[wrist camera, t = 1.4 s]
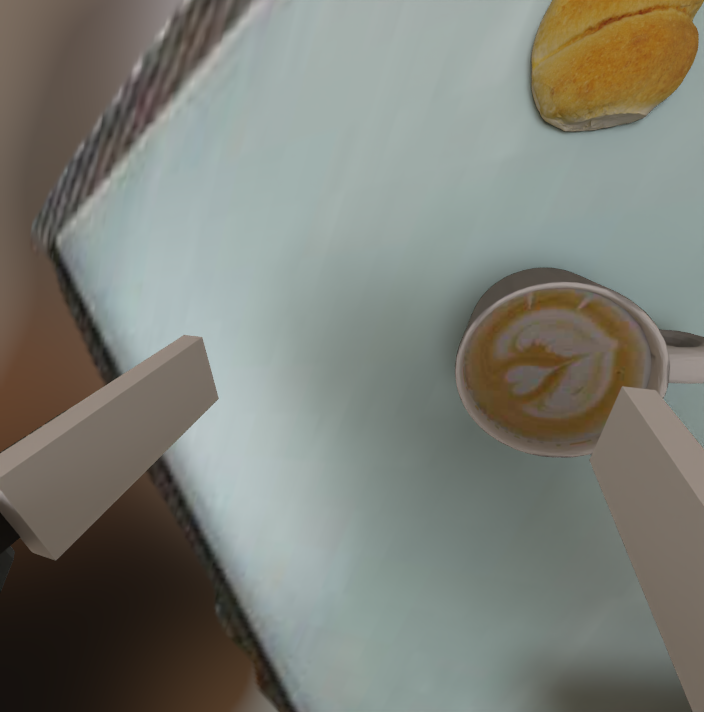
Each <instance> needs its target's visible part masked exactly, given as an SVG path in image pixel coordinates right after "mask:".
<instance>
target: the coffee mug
mask: <svg viewBox="0 0 704 712" xmlns="http://www.w3.org/2000/svg"><path fill="white" fill-rule="evenodd" d="M455 377H456V384H457V389H458V392H459V395H460V398H461V400H462V402H463V404H464V406H465V408H466V410H467V411H468V413H469V414H470V416H471V417H472V419H473V420H474V421H475V422H476V423H477V424H478V425H479V426H480V427H481V428H482V429H483V430H484V431H485V432H486V433H488V434H489V435H490V436H492V437H493V438H495V439H497V440H498V441H500V442H501V443H503V444H505V445H507V446H510V447H512V448H514V449H517V450H519V451H522V452H525V453H529V454H533V455H538V456H545V457H577V456H583V455H589V454H592V453H593V451H594V449H595V447H596V444H597V442H598V440H599V437H600V435H601V433H602V431H603V428H604V426H605V424H606V422H607V419H608V417H609V415H610V413H611V410H612V408H613V406H614V403H615V401H616V399H617V397H618V394H619V392H620V390H621V388H622V386H624V387H632V388H641V389H649V390H656V391H657V392H658V394H659V395H660V396H661V397H662V398H664V396H665V394H666V390H667V387H668V383H688V384H689V383H704V337H701V336H698V335H694V334H691V333H686V332H681V331H672V330H659V329H658V327H657V325H656V324H655V323H654V321H653V320H652V319H651V318H650V317H649V316H648V314H647V313H646V312H645V311H644V310H642V309H641V308H640V307H639V306H638V305H636V304H635V303H634V302H632V301H631V300H630V299H628V298H626V297H625V296H623V295H621V294H620V293H618V292H615V291H613V290H611V289H609V288H606V287H604V286H602V285H600V284H597V283H595V282H593V281H591V280H588V279H586V278H584V277H581V276H579V275H577V274H574V273H572V272H569V271H566V270H561V269H556V268H533V269H527V270H523V271H520V272H517V273H514V274H511V275H509V276H507V277H505V278H503V279H502V280H500V281H498V282H497V283H496V284H494V285H493V286H492V287H491V288H490V289H489V290H488V291H487V292H486V293H485V294H484V295H483V296H482V297H481V299H480V300H479V301H478V303H477V305H476V307H475V309H474V311H473V313H472V316H471V318H470V320H469V323H468V325H467V328H466V330H465V332H464V335H463V337H462V340H461V342H460V345H459V348H458V352H457V357H456V363H455Z"/></svg>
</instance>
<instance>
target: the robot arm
mask: <svg viewBox="0 0 704 712" xmlns="http://www.w3.org/2000/svg"><path fill="white" fill-rule="evenodd" d="M218 399H219V398H218V394H217V391H216V387H215V383H214V380H213V376H212V372H211V368H210V365H209V361H208V357H207V353H206V350H205V346H204V342H203V339H202V337H197V336H188V335H184V336H182V337H180V338H179V339H177V340H176V341H174V342H173V343H171V344H170V345H168V346H166V347H165V348H163V349H162V350H160V351H159V352H157V353H156V354H154V355H152V356H151V357H149V358H148V359H146V360H145V361H143V362H142V363H140V364H138V365H137V366H135V367H134V368H132V369H131V370H129V371H128V372H126V373H124V374H123V375H121V376H120V377H118V378H117V379H115V380H114V381H112V382H111V383H109V384H107V385H106V386H104V387H103V388H101V389H100V390H98V391H97V392H95V393H93V394H92V395H90V396H89V397H87V398H86V399H84V400H83V401H81V402H80V403H78V404H76V405H75V406H73V407H72V408H70V409H69V410H66V411H64V412H63V413H61V414H59V415H58V416H56V417H55V418H53V419H52V420H50V421H48V422H47V423H45V425H44V426H41V427H39V428H37V429H36V430H34V431H33V432H31V433H30V435H29V436H27V437H26V436H25V437H24V438H22V439H20V440H19V441H17V442H16V443H14V444H13V445H11V446H9V447H8V448H6V449H5V450H3V451H2V452H0V592H1V589H2V587H3V584H4V582H5V579H6V577H7V574H8V572H9V569H10V567H11V564H12V562H13V559H14V550H13V549H12V548H11V547H10V546H11V545H12V544H13V543H14V542H15V541H16V540H18V539H19V538H21V539H22V540H23V542H24V543H25V544H26V545H27V547H28V548H29V549H30V550H31V551H32V552H33V553H35V554H38V555H42V556H44V557H47V558H50V559H53V560H57V559H58V558H59V557H60V555H62V554H63V553H64V552H65V551H66V550H67V549H68V548H69V547H70V546H71V545H72V544H73V543H74V542H75V541H76V540H77V539H78V538H79V537H80V536H81V535H82V534H83V533H84V532H85V531H86V530H87V529H88V528H89V527H90V526H91V525H92V524H93V523H94V522H95V521H96V520H97V519H98V518H99V517H100V516H101V515H102V514H103V513H104V512H105V511H106V510H107V509H108V508H109V507H110V506H111V505H112V504H113V503H114V502H115V501H116V500H117V499H118V498H119V497H120V496H121V495H122V494H123V493H124V492H125V491H126V490H127V489H128V488H129V487H130V486H131V485H132V484H133V483H134V482H135V481H136V480H137V479H138V478H139V477H140V476H141V475H142V474H143V473H144V472H145V471H146V470H147V469H148V468H149V467H150V466H151V465H152V464H153V463H154V462H155V461H156V460H157V459H158V458H159V457H160V456H161V455H162V454H163V453H164V452H165V451H166V450H168V449H169V448H170V447H171V446H172V445H173V444H174V443H175V442H176V441H177V440H178V439H179V438H180V437H181V436H182V435H183V434H184V433H185V432H186V431H187V430H188V429H189V428H190V427H191V426H192V425H193V424H194V423H195V422H196V421H197V420H198V419H199V418H200V417H201V416H202V415H203V414H204V413H205V412H206V411H207V410H208V409H209V408H210V407H211V406H212V405H213V404H214V403H215V402H216V401H217V400H218ZM590 463H591V465H592V468H593V470H594V473H595V475H596V477H597V480H598V482H599V485H600V487H601V490H602V492H603V495H604V497H605V499H606V502H607V504H608V507H609V509H610V512H611V514H612V517H613V519H614V521H615V524H616V526H617V529H618V531H619V534H620V536H621V538H622V541H623V543H624V546H625V548H626V551H627V553H628V556H629V558H630V560H631V563H632V565H633V568H634V570H635V573H636V575H637V577H638V580H639V582H640V585H641V587H642V590H643V592H644V595H645V597H646V599H647V602H648V604H649V607H650V609H651V612H652V614H653V616H654V619H655V621H656V624H657V626H658V629H659V631H660V634H661V636H662V638H663V641H664V643H665V646H666V648H667V651H668V653H669V656H670V658H671V660H672V663H673V665H674V668H675V670H676V673H677V675H678V677H679V680H680V682H681V685H682V687H683V690H684V692H685V695H686V697H687V699H688V702H689V704H690V707H691V709H692V712H704V449H703V448H702V446H701V445H700V444H699V443H698V441H697V440H696V439H695V438H694V437H693V435H692V434H691V433H690V432H689V430H688V429H687V428H686V427H685V425H684V424H683V423H682V422H681V421H680V419H679V418H678V417H677V416H676V414H675V413H674V412H673V411H672V410H671V408H670V407H669V406H668V405H667V403H666V402H665V401H664V400H663V398H662V397H661V396H660V395H659V394H658V392H657V391H656V390H649V389H641V388H632V387H624V386H622V388H621V390H620V392H619V394H618V397H617V399H616V401H615V403H614V406H613V408H612V410H611V413H610V415H609V417H608V419H607V422H606V424H605V426H604V428H603V431H602V433H601V435H600V437H599V440H598V442H597V444H596V447H595V449H594V451H593V453H592V456H591V458H590Z"/></svg>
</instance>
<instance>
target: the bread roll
mask: <svg viewBox="0 0 704 712" xmlns="http://www.w3.org/2000/svg"><path fill="white" fill-rule="evenodd" d="M703 2H704V0H552V2H551V4H550V6H549V8H548V9H547V11H546V13H545V15H544V17H543V20H542V21H541V23H540V26H539V29H538V31H537V34H536V37H535V41H534V45H533V50H532V57H531V58H532V83H531V86H532V94H533V97H534V101H535V104H536V107H537V109H538V110H539V112H540V114H541V116H542V118H543V119H544V120H545V121H546V122H548V123H549V124H551V125H553V126H555V127H557V128H560V129H561V130H563V131H590V130H598V129H602V128H609V127H613V126H616V125H622V124H625V123H626V124H627V123H632V122H634V121H637V120H639V119H643V118H644V117H645V116H647V114H648V113H649V112H650V111H651V110H652V109H653V108H654V107H655V106H657V105H658V104H660V103H661V102H662V101H664V100H665V99H666V98H667V97H669V96H670V95H671V94H672V93H673V92H674V91H675V90H676V89H677V88H678V87H679V85H680V84H681V83H682V81H683V79H684V78H685V76H686V74H687V73H688V71H689V70H690V68H691V66H692V64H693V62H694V59H695V56H696V53H697V50H698V31H697V28H696V26H695V25H694V24H693V22H692V21H693V18H694V16H695V14H696V13H697V11H698V10H699V8H700V7H701V5H702V3H703Z"/></svg>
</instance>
